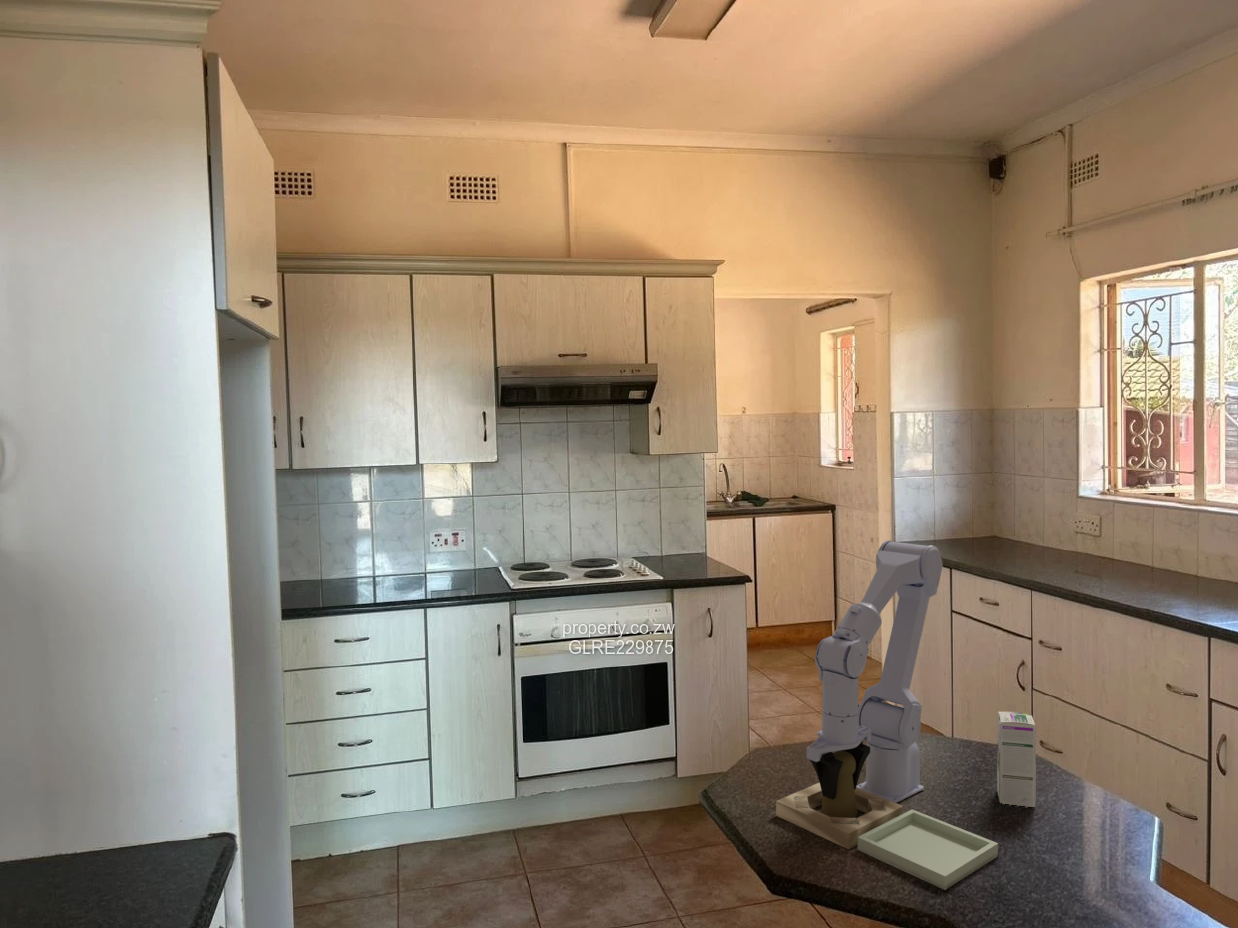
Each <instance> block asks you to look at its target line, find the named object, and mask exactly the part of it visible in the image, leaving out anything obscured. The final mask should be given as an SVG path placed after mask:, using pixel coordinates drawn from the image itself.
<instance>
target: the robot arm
mask: <svg viewBox="0 0 1238 928" xmlns="http://www.w3.org/2000/svg"><path fill="white" fill-rule="evenodd" d="M943 565H944V563H943V559H942V555H941V552H940V551H939V548H938V547H937V546H935V545H931V544H930V545H924V544H914V543H906V542H897V541H893V540H885V541H883V543H881V545H880V547H878V551H877V553H876V556H875V567H876V571H875V574H874V575H873V577H872V579H871V581H870V583H869V584H868V585H869V586H868V588H867V590H866V592H865V594H864V596H863V597H862V600H861V602H858V603H854V604H853V603H852V605H850V606H849V608H848V610H847V611H846V613H845V614H844V616H843V618H842V619H841V621H840V622H839V624H838V625H837V627H836V629H835V630H834V631H833V634H832V635H831V636H827V637H825V638H823V639H822V640H821V641H820V642H819V643H818V645H817V649H816V653H815V655H814V662H815V666H816V667H817V670H818V679H819V681H821V685H822V690H821V700H822V701H821V706H822V707H821V712H822V713H821V730H819V731H816V732H817V733H816V734H817V738H816V739H815V741H813V743H811V744H810V745H808V746H806V759H808V760H809V761H810V763H811V764H812V766H813V768H814V770H815V773H816V775H817V778H818V783H819V782H820V786H821V790H822V794H823V796H825V797H827V798H829V799H835V797H836V793H837V781H838V775H839V772H840V769H841V766H842V764H843V761H841V760H838V759H835V756H833V753H834V752H836V751H839V750H840V751H845V752H848V753H850V754H851V755H852V756H853V757H854V759H855V761H856V769H855V772H854V773H853V774H852V776H853V784H854V790H855V789H856V788H859V789H861V790H864V791H866V792H869V793H871V794H874V795H876V796H879V797H881V798H884V799H887V800H889V801H892V802H894V803H897V804H898V802H901V801H903V800H905V799H906V798H908V797H911V796H912V795H914V794H917V793H918V792H921V791H923V790H925V787H924V785H922V784H920V776H921V774H920V773H921V772H920V770H921V765H920V763H921V754H920V753H921V752H920V749H919V746H918V744H917V743H916V742H917V740H918V738H919V737H920V735H921V734H920V733H921V729H922V728H921V727H922V720H921V717H922V716H921V715H922V707H923V706H922V704H921V702H920V701H919V699H918V698H917V697H915V695H914V693H913V692H912V690H910V689H911V685H912V679H913V676H914V670H915V666H916V662H917V657H918V652H919V648H920V644H921V641H922V640H921V638H922V635H923V631H924V625H925V620H926V616H927V612H928V607H929V603H930V598H931V597H933V596H935V595H937V592H938V588H939V585H940V580H941V576H942V570H943ZM895 594H897V596H898V601H897V606H896V610H895V614H894V618H893V619H894V620H893V623H892V628H891V632H890V636H889V641H888V646H887V650H886V653H885V658H884V662H883V668H882V672H881V676H880V680H879V682H878V683H875V684H874V685H872V686H870V687H868V688H867V689H865V691H864V694H863V696H862V700H861V702H860V703H859V676H861V675H862V673H863V671H864V670H865V668H866V664H867V659H868V658H867V657H868V655H869V651H870V649H869V645H870V644H871V642H872V641H873V639H874V637H875V635H876V634H877V632H878V630H879V629H880V628H881V626H882V622H883V621H882V617H881V615H880V614H881V613H882V611H883V610H884V609H885V607H886V606H887V605H888V603H889V602H890V601H891V599H892V598H893V597H894V596H895ZM887 702H890V703H887ZM891 703H893V704H891ZM895 704H898V705H901V706H898V705H895ZM858 705H859V707H858ZM864 741H865V742H866V744H864ZM865 762H866V764H865ZM864 764H865V766H866V767H865V768H866V769H865V771H866V772H865V781H864V782H861V783H859V779H860V776H861V772H862V770H863V766H864ZM858 783H859V784H858Z"/></svg>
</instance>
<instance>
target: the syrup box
mask: <svg viewBox="0 0 1238 928" xmlns="http://www.w3.org/2000/svg"><path fill="white" fill-rule="evenodd" d="M1036 726H1037V725H1036V723H1035V721H1034V718H1033V715H1032V714H1030V713H1026V712H1019V711H997V726H996V728H997V731H996V734H997V735H996V736H997V737H996V738H997V740H996V741H997V742H996V743H997V745H996V746H997V748H996V750H997V751H996V753H997V754H996V761H997V762H996V793H997V797H998V801H999V803H1000V804H1001V803H1002V804H1001V805H1005V804H1009V805H1008V806H1011V805H1017V806H1016V807H1019V806H1025V807H1024V808H1028V807H1035V808H1036V794H1037V793H1036V792H1037V791H1036V790H1037V789H1036V787H1037V786H1036V785H1037V784H1036V783H1037V779H1036V778H1037V771H1036V770H1037V769H1036V768H1037V767H1036V766H1037V762H1036V761H1037V759H1036V758H1037V756H1036V755H1037V754H1036V753H1037V751H1036V748H1037V747H1036V743H1037V742H1036V740H1037V739H1036V731H1037V727H1036Z"/></svg>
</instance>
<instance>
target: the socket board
mask: <svg viewBox="0 0 1238 928" xmlns="http://www.w3.org/2000/svg"><path fill="white" fill-rule="evenodd" d="M854 792H855V800H856V808H857V811H861V812H862V813H864V814H862V815H861V816H858V818H841V817H829V816H827V815H825V814H822V813H821V811H817V810H815V809H816V808H817V807H820V806H822V803H823V794H822V790H821V786H820V782H819V781H818V782H817V783H815V784H813V785H810V786H808V787H806V788H804V789H801V790H799V791H796V792H794V793H791V794H790V795H787V796H785V797H782V798H780V799H778V800H777V799H776V802H775V816H776V817H778V818H780V819H782V820H785V821H787V822H789V823H792V824H793V825H794V826H798V827H800V828H803V829H805V830H807V831H808V832H810V833H812V834H815V835H817V836H819V837H821V838H824V839H825V840H828V841H830V842H832V843H834V844H836V845H838V846H840V847H843V848H845V849H847V850H851V849H852V848H854V847H856V846H858V837H859V836H861V835H863V834H865V833H867V832H869V831H871V830H873V829H875V828H876V827H878V826H880V825H882V824H884V823H886V822H888V821H890V820H892V819H894V818H896V817H898V816H900V815H902V814H904V805H901V804H899V803H898V802H897V803H894V802H892V801H889V800H887V799H884V798H881V797H879V796H876V795H874V794H871V793H869V792H866V791H864V790H861V789H859V788H856V789H855V790H854Z"/></svg>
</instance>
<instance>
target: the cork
mask: <svg viewBox="0 0 1238 928" xmlns="http://www.w3.org/2000/svg"><path fill="white" fill-rule="evenodd" d="M833 756H835V759H838V760H841V761H843V764H842V766H841V769H840V772H839V775H838V781H837V793H836V797H835V799H829V798H827V797H825V796H823V803H822V805H821V811H820V813H822V814H825V815H827V816H829V817H841V818H858V817H859V816H858V809H857V808H856V800H855V792H854V784H853V776H852V774H853V773H854V772H855V769H856V761H855V759H854V757H853V756H852V755H851V754H850V753H848V752H845V751H840V750H839V751H836V752H834V753H833Z"/></svg>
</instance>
